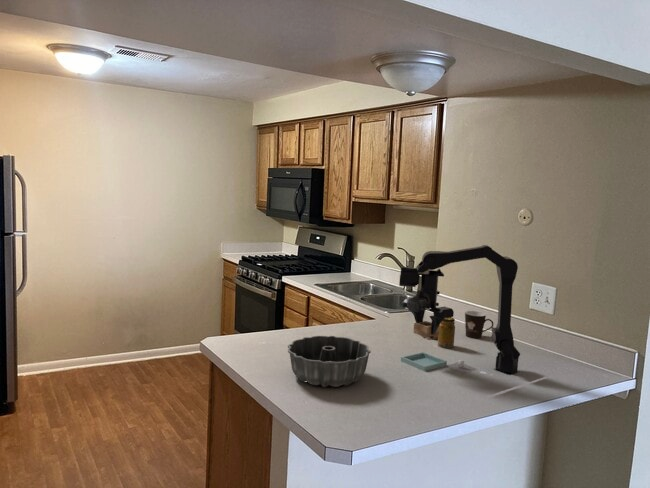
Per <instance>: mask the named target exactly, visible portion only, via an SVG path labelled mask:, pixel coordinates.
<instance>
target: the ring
mask: <svg viewBox="0 0 650 488" xmlns="http://www.w3.org/2000/svg"><path fill="white" fill-rule="evenodd" d="M431 322H432V321H427V320H423V322H417V323H416V322H414V323H413V334H416V335H418V336H421V337H422V336H424V337H430V336H435V335H438V330H439V327H438V328H437V330H436V332H435V334H433V335H432V334H431V324H432V323H431ZM424 337H423V338H424Z"/></svg>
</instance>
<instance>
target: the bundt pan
mask: <svg viewBox="0 0 650 488" xmlns="http://www.w3.org/2000/svg"><path fill="white" fill-rule="evenodd" d="M287 352H288V354H289V356H290V357H289V358H290V364H291V370H292V372H293V374H294V376H296V377H297V378H298V379H299V380H300V381H301V382H303V381H307V382H308V384H310V385H312V386H320V385H321V386H322V387H324V388H327V387H328V386H331V387H333V388H335V387H336V388H338V387H340V386H345V385H346V386H349V385H351V384H352V383H355V382H357V381H358V380H360V379H361V378H362V376H363V375H364V374H365V373H366V370H367V366H368V361H369V356H370V353H371V349H369V346H368V345H367V344H365V343H363V342H361V341H360V340H356V339H353V338H349V337H344V336H335V335H329V336H328V335H314V336H310V337H309V336H305V337H303V338H301V339H296V340H295V339H294V340H293V341H292V342H291V343H290V344H288V345H287Z"/></svg>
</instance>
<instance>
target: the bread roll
mask: <svg viewBox="0 0 650 488" xmlns="http://www.w3.org/2000/svg"><path fill="white" fill-rule="evenodd" d="M430 322H431V323H432V321H430ZM438 335H439V330H438ZM438 335H435V336H430V337H424V336H421V337H422V338H424V339H427V340H435V341H438Z"/></svg>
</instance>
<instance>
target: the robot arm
mask: <svg viewBox="0 0 650 488" xmlns="http://www.w3.org/2000/svg"><path fill="white" fill-rule="evenodd" d="M479 259H487V260H488V261H490V262H491V263H492V264H494V266H495V267H496V273H497V278H498V283H499V285H498V286H499V287H498V289H499V290H498V307H497V308H498V309H497V311H498V312H497V324H496V326H495V327H494V326H493V327H492V328H491V336H490V339H491V340H492V342H493V344H494V346H495V347H496V349H497V350H498V352H497V356H496V357H495V368H493V371H496V372H499V373H501V374H505V375H508V376H511V375H515V374H518V373H520V372H521V371H519V370H518V368H519V359H520V356H521V352H520V351H519V350H518V349H517V347H516V346H515V342H514V336H513V335H514V334H513V331H512V328H511V327H512V326H511V325H512V324H511V322H512V320H511V319H512V305H513V304H512V300H513V286H514V285H513V284H514V282H515V280H516V277H517V274H518V269H519V266H518V263H517V262H516V261H515V259H513V258H511V257H508V256H505V255H504V256H502V255H501V254H499V253H498V252H497V251H495V250H494V249H493V247H491V246H490V245H488V244H483V245H481V246H480V245H479V246H475V247H468V248H461V249H455V250H450V251H443V250H442V251H441V250H428V251H425V252H424V254H423V255H422V258H421V261H420V262H419V263H418V264H417V265H416V267H407V266H401V267H400V272H399V273H400V274H399V280H398V281H399V282H398V284H399V287H410V288H416V286H418V285H420V289H418V290H417V292H416V295H415V296H413V297H411V298H405V299H404V301H403V302H402V307H403V308H406V309H407V310H408V312H411V314H412V315H413V317H414V321H415V323H417V322H423V321H424V318H425V317H424V316H425V312H426V311H427V312H431V313H432V314H433V315H429V318H430V320H431V322H432V324H431V334H432V335H433V334H435V332H436V330H437V328H438V327H439V325H440V323H441V322H442V321H443V319H444V318H449V317H452V318H454V309H453V308H451V307H448V306H439V305H440V303H439V302H437V299H438V295H440V293H441V291H439V290H438V287H439V286H438V285H439V277H445V274H444V272H442V270H441V269H440V268H442V267H445V266H447V265H449V264H454V263H459V262H467V261H472V260H479ZM420 276H421V277H420Z"/></svg>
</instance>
